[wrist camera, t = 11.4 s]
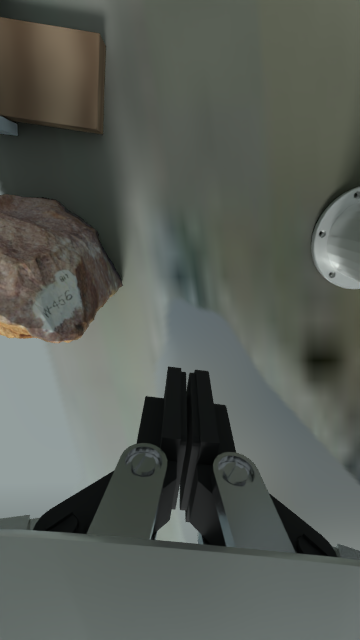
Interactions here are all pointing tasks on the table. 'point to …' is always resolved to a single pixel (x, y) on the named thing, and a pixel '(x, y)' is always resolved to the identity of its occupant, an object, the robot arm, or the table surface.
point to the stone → (50, 271)
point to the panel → (52, 76)
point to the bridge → (8, 127)
